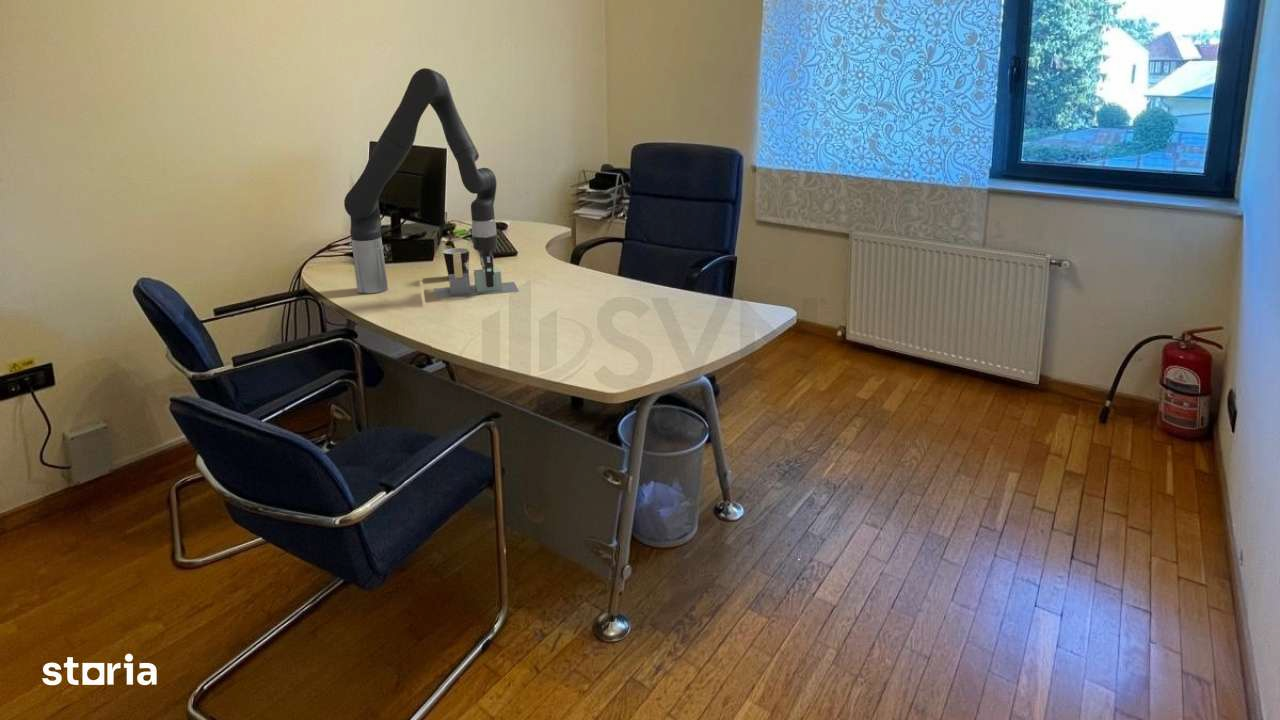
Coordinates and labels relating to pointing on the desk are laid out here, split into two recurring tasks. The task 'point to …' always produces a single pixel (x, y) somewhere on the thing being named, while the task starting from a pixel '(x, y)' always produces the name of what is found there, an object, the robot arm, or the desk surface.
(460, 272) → the t key
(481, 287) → the mint green block
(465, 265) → the coffee mug
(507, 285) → the base board
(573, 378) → the desk surface
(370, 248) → the robot arm
